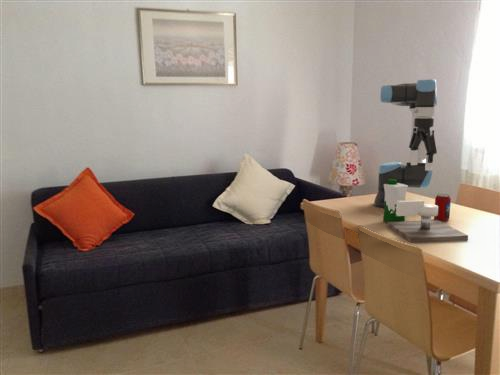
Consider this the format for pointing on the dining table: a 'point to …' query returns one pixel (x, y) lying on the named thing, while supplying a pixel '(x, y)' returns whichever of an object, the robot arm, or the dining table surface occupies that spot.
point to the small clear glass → (425, 223)
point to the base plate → (426, 232)
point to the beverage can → (443, 207)
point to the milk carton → (393, 200)
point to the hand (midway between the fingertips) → (421, 167)
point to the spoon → (416, 208)
